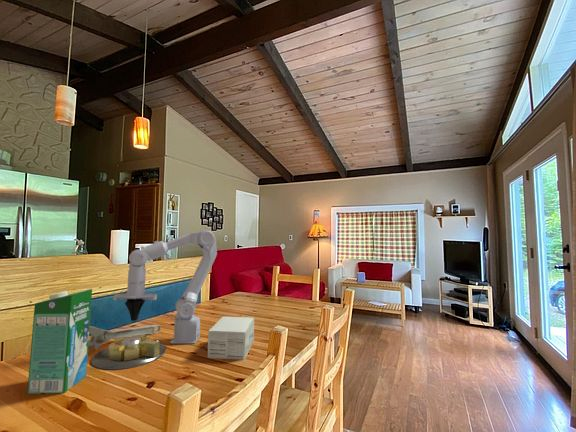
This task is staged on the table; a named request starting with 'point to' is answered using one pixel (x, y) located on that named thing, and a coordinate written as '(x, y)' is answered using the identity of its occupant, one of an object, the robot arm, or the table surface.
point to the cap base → (107, 364)
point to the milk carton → (59, 342)
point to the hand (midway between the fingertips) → (134, 319)
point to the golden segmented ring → (133, 349)
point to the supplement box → (231, 338)
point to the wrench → (117, 334)
